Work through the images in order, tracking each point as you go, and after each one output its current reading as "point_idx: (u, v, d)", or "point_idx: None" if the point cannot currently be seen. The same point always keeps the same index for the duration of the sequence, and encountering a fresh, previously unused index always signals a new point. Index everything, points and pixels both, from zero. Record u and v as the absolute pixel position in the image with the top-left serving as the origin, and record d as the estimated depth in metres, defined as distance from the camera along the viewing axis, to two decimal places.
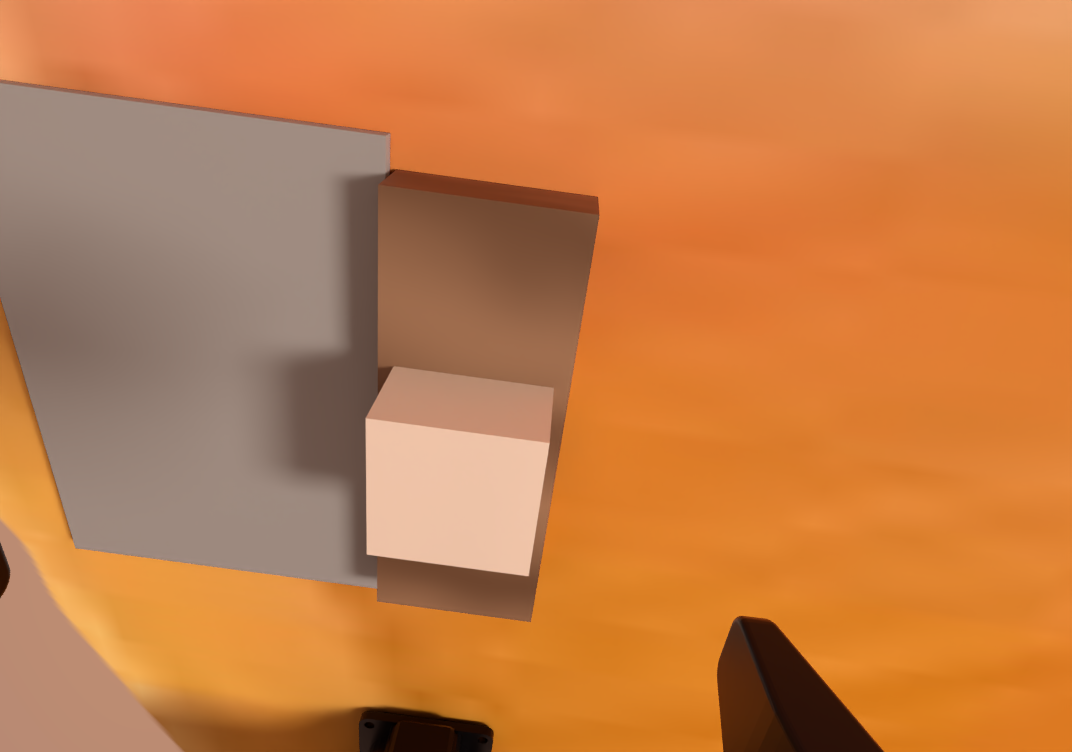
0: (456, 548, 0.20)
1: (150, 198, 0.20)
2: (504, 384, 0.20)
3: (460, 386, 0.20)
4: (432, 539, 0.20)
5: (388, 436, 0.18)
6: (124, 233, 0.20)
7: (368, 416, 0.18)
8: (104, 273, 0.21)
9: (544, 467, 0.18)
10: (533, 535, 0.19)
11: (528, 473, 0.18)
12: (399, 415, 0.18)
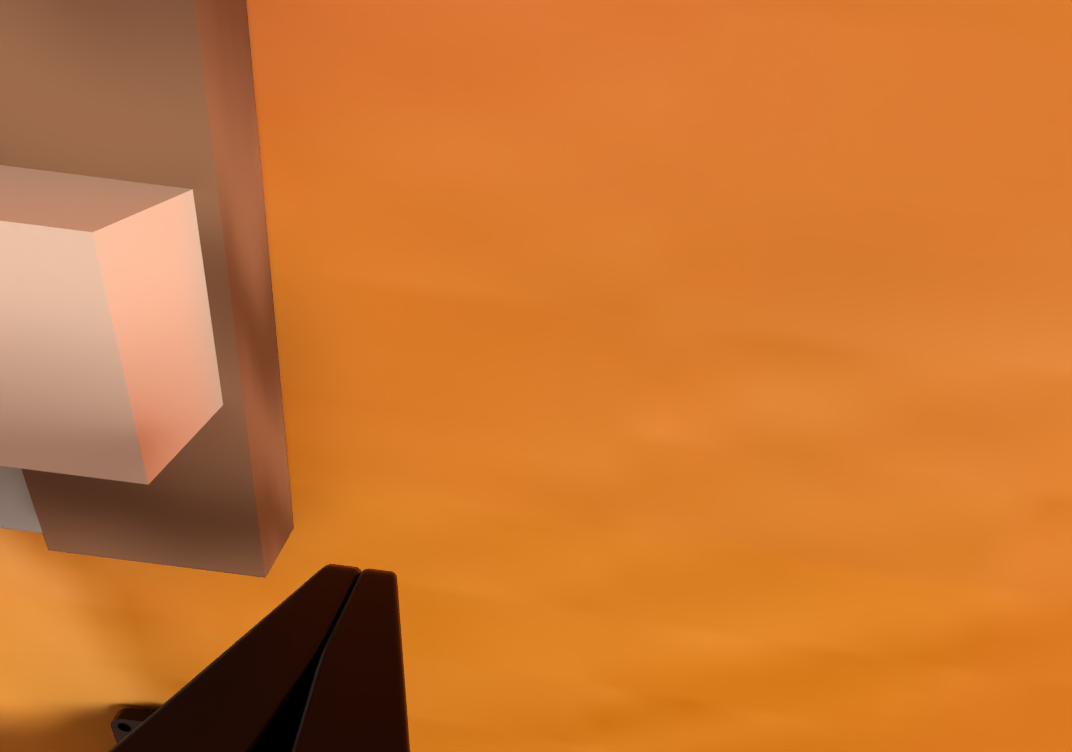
0: (22, 438, 0.12)
1: None
2: (107, 182, 0.13)
3: (26, 178, 0.12)
4: None
5: None
6: None
7: None
8: None
9: (100, 281, 0.11)
10: (129, 411, 0.12)
11: (79, 295, 0.11)
12: None
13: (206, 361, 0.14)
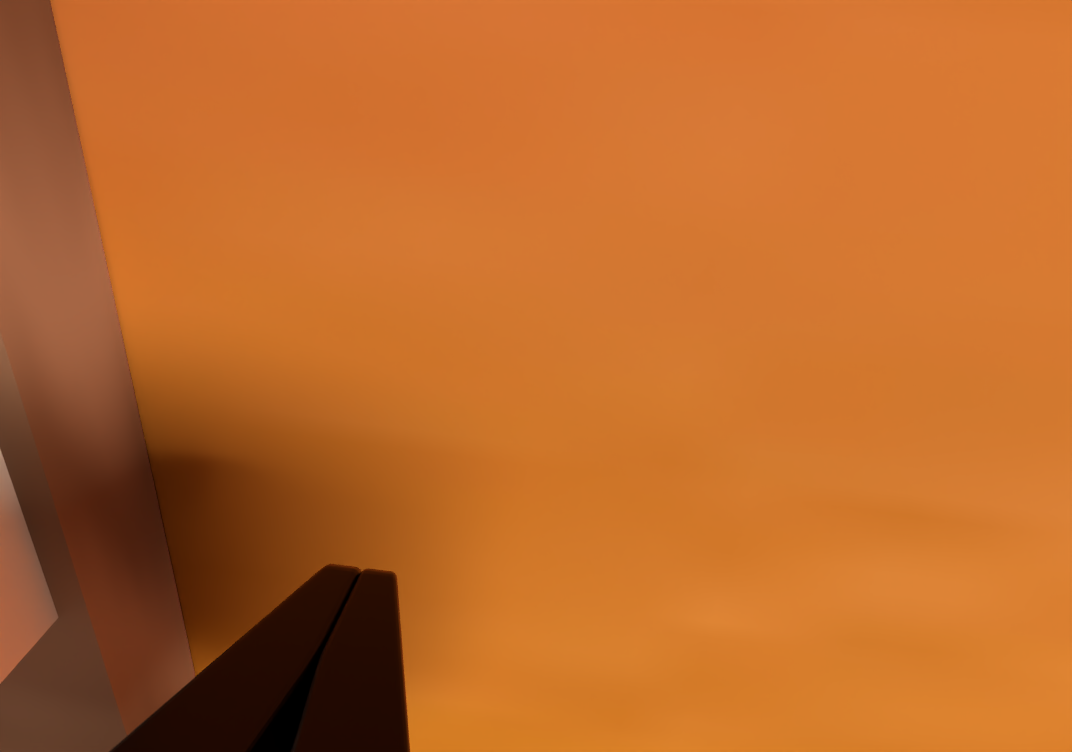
0: None
1: None
2: None
3: None
4: None
5: None
6: None
7: None
8: None
9: None
10: None
11: None
12: None
13: (13, 572, 0.09)
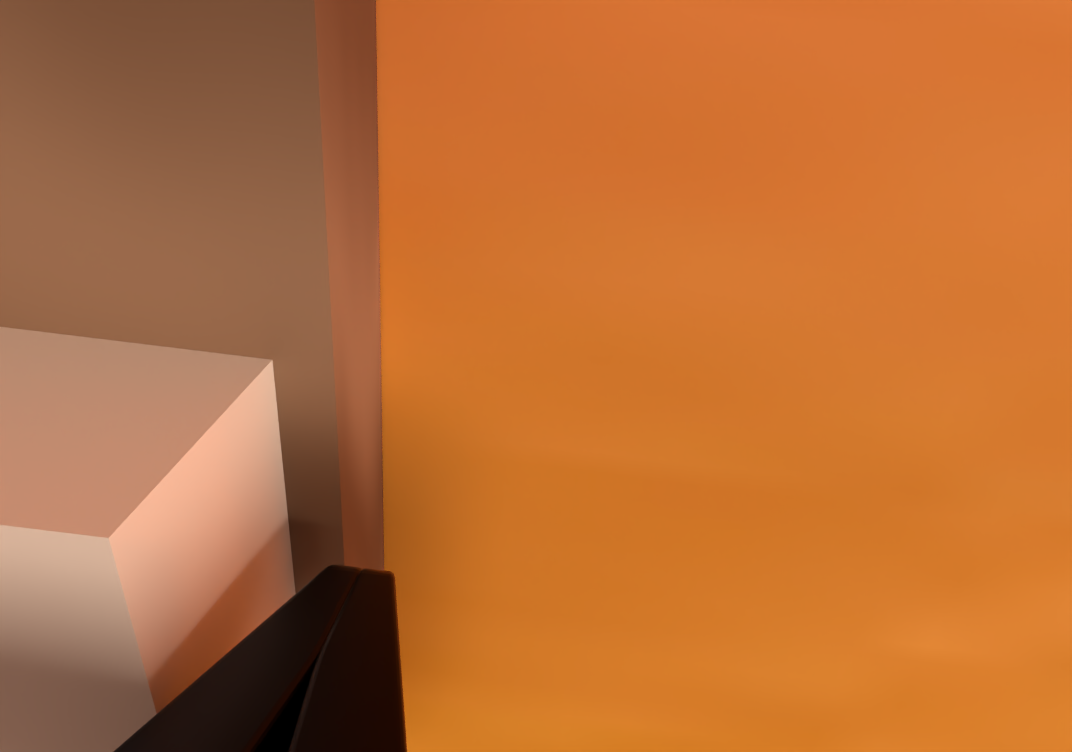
0: None
1: None
2: (129, 353, 0.07)
3: None
4: None
5: None
6: None
7: None
8: None
9: (123, 614, 0.05)
10: None
11: (81, 632, 0.05)
12: None
13: None
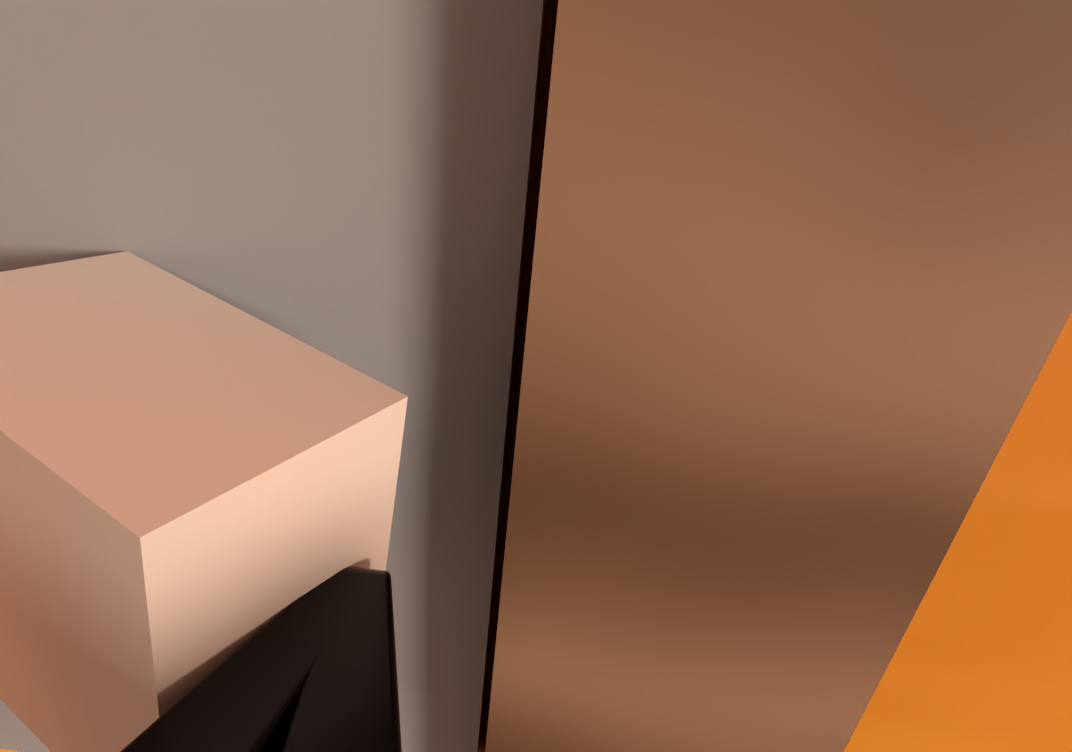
0: (48, 718, 0.08)
1: None
2: (291, 350, 0.08)
3: (186, 319, 0.08)
4: (7, 670, 0.08)
5: None
6: None
7: None
8: None
9: (143, 613, 0.05)
10: None
11: (116, 611, 0.05)
12: None
13: None
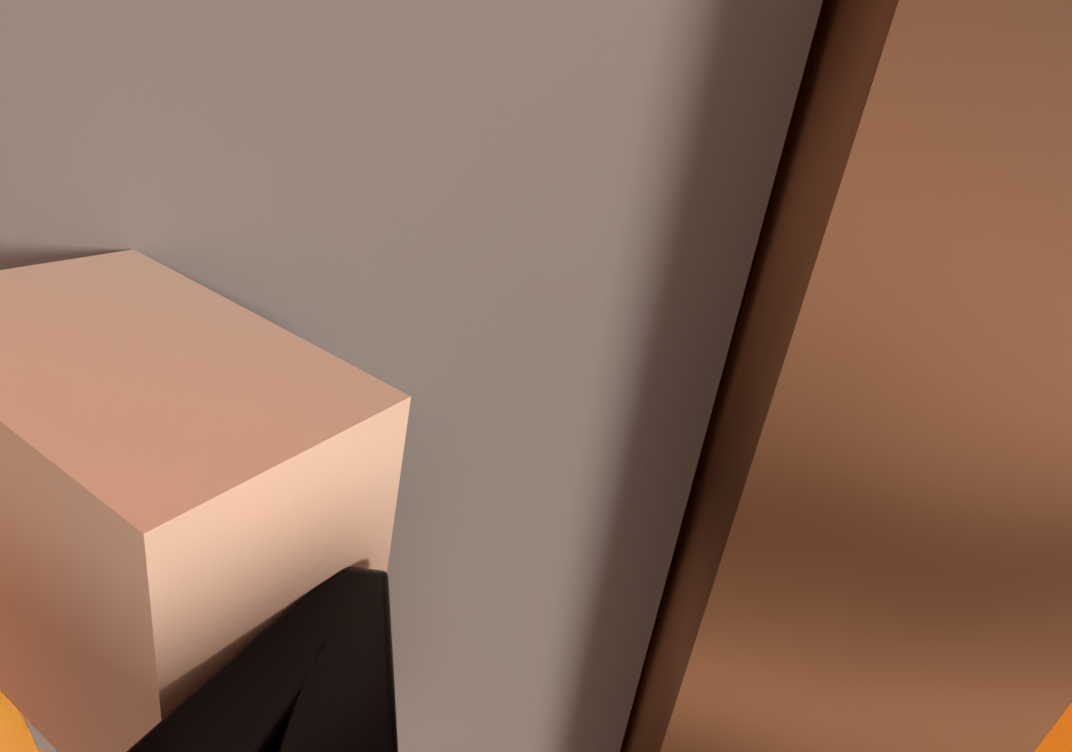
0: (50, 713, 0.08)
1: (196, 3, 0.08)
2: (295, 349, 0.08)
3: (191, 317, 0.08)
4: (11, 665, 0.08)
5: None
6: (129, 105, 0.08)
7: None
8: (81, 211, 0.09)
9: (146, 609, 0.05)
10: None
11: (118, 607, 0.06)
12: None
13: None
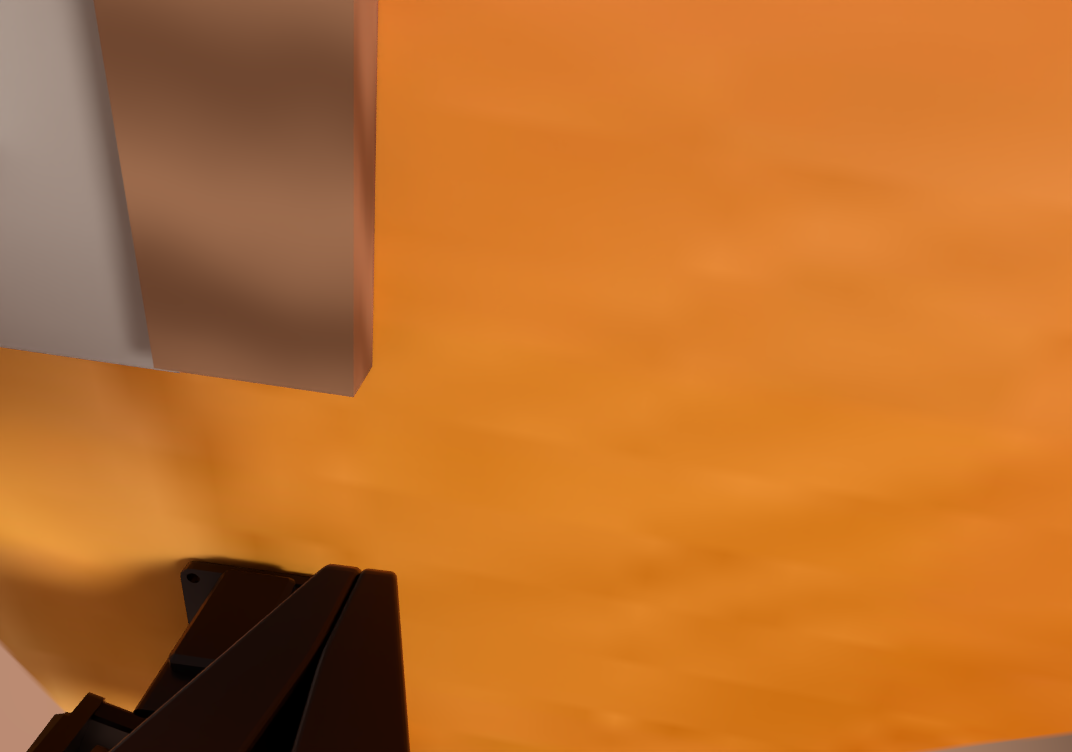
0: None
1: None
2: None
3: None
4: None
5: None
6: None
7: None
8: None
9: None
10: None
11: None
12: None
13: None
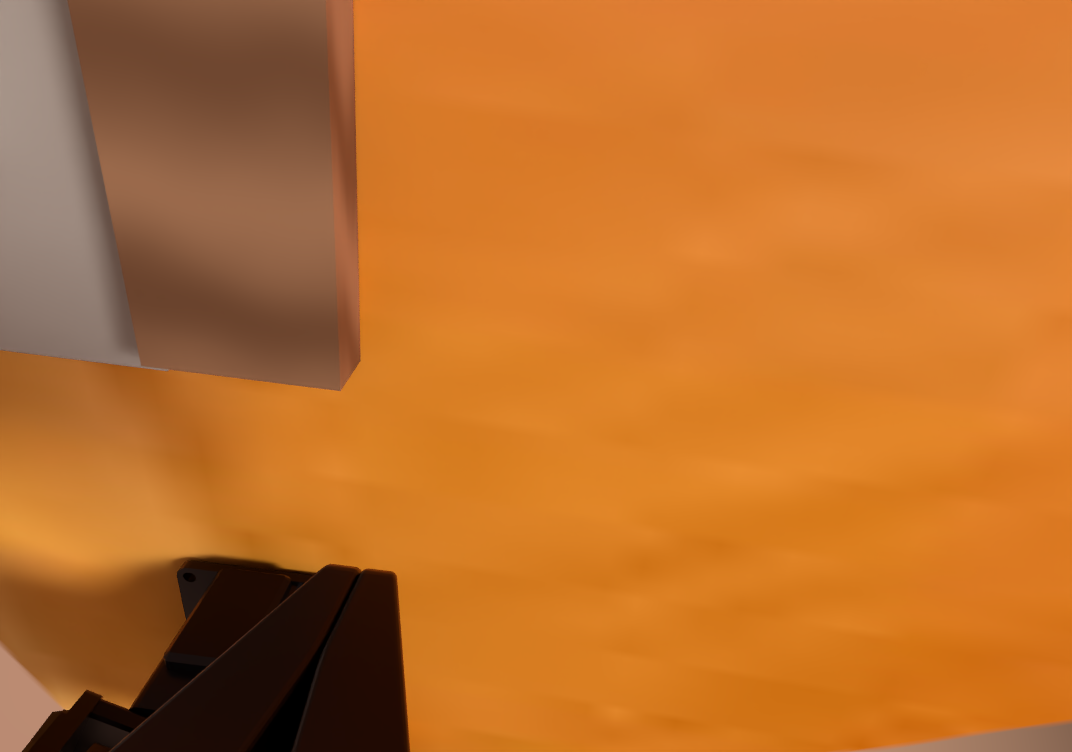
0: None
1: None
2: None
3: None
4: None
5: None
6: None
7: None
8: None
9: None
10: None
11: None
12: None
13: None
